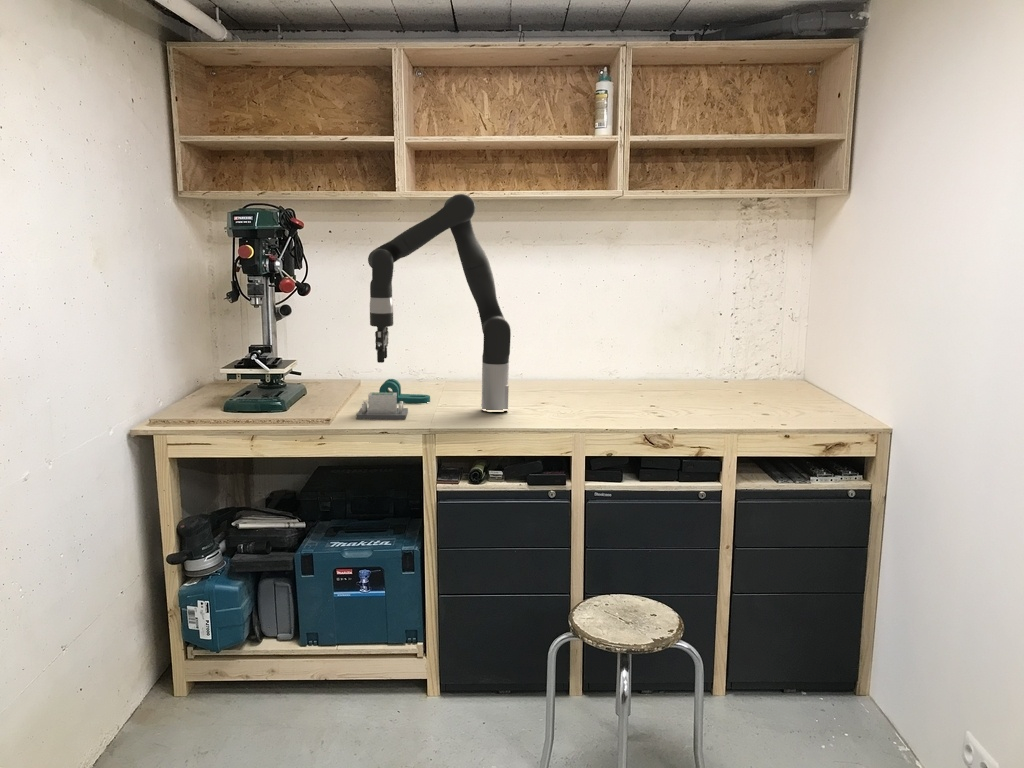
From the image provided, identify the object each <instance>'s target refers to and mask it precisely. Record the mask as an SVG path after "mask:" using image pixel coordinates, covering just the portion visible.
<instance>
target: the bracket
mask: <svg viewBox="0 0 1024 768" xmlns="http://www.w3.org/2000/svg"><path fill="white" fill-rule="evenodd" d="M378 391H379V392H378V393H397V404H400V401H403V404H404V403H426V404H428V403H427V402H430V403H431V395H429V394H422V393H418V394H416V393H415V394H414V393H402V387H401V383H400V382H399V381H398V380H396V379H394V378H388V379H387V380H385V381H383V383H382V384H381V386H380V387H379V390H378Z"/></svg>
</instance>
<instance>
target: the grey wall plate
mask: <svg viewBox="0 0 1024 768" xmlns="http://www.w3.org/2000/svg"><path fill="white" fill-rule="evenodd" d="M408 414H409V408H408V407H404V403H403V401H400V403H397V411H396V413H369V412H368V400H363V403H361V407H360V409H359V410H358V411H357V413H356V420H387V421H388V420H393V421H394V420H395V421H397V420H401V421H402V420H404V419H407V417H408ZM404 421H405V420H404Z"/></svg>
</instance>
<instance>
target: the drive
mask: <svg viewBox="0 0 1024 768" xmlns="http://www.w3.org/2000/svg"><path fill="white" fill-rule="evenodd" d="M367 397H368V399H367V408H368V412H369V413H396V411H397V408H398V403H397V393H379V392H371V391H369V393H368V396H367Z"/></svg>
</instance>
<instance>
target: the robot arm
mask: <svg viewBox="0 0 1024 768" xmlns="http://www.w3.org/2000/svg"><path fill="white" fill-rule="evenodd" d="M475 213H476V204H475V201H474V199H473V198H472V197H471V196H470V195H468V194H466V193H465V194H464V193H457V194H454V195H453V196H450V197H449V198H447V199H446V201H445V202H444V204H443V207H442V208H440V210H437V212H435V213H434V214H433V215H431V216H429V217H428V218H426V219H424V220H422V221H420V222H418V223H416V224H415V225H413V226H411V227H409V228H408V229H405V230H404V231H403V232H401V233H400V234H398V235H397V236H396V237H394V238H393V239H392V240H389V241H388V242H385V243H383V244H382V245H380V246H377V247H376V248H375V249H373V250H371V252H369V255H368V257H367V263H368V265H369V267H370V268H371V281H370V284H369V296H370V297H369V325H370V326H371V327H376V330H375V333H374V336H375V337H374V338H375V342H374V343H375V348H374V349H375V350H376V355H377V356H376V361H377V363H379V364H382V363H384V362H385V359H387V358H388V346H389V345H388V344H389V334H390V333H389V327H393V326H394V301H393V286H392V285H393V283H392V282H393V276H394V269H395V268H394V264H395V262H398V260H400V259H403V258H407V257H408V256H409V255H411V254H412V253H415V252H416V251H417V250H419V249H420V248H422V247H423V246H425V245H426V244H428V243H429V242H431V241H432V240H433V239H434V238H436V237H437V236H439V235H441V234H442V233H443V232H445V231H447V230H449V229H450V231H451V233H452V236H453V239H454V241H455V242H454V243H455V245H456V249H457V253H458V256H459V261H460V264H461V266H462V270H463V273H464V277H465V280H466V283H467V285H468V288H469V291H470V293H471V295H472V297H473V299H474V302H475V304H476V306H477V310H478V311H477V312H478V313H479V320H480V323H481V324H480V325H481V330H482V331H481V332H482V334H483V346H482V347H483V350H482V356H481V358H482V359H481V360H482V361H481V362H482V364H481V365H482V367H481V407H482V409H486V410H503V409H508V410H509V392H510V391H509V390H510V389H509V387H510V386H509V368H510V367H509V363H510V354H511V337H512V333H511V331H512V330H511V325H510V324H509V322H508V321H507V320H506V318H505V317H504V314H503V312H502V310H501V307H500V304H499V301H498V297H497V292H496V291H497V290H496V284H495V278H494V274H493V270H492V267H491V265H490V264H491V263H490V261H489V257H488V256H487V253H486V251H485V250H484V248H483V245H481V243H480V242H479V240H478V238H477V236H476V234H475V231H474V227H473V224H472V218H474V215H475Z"/></svg>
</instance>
